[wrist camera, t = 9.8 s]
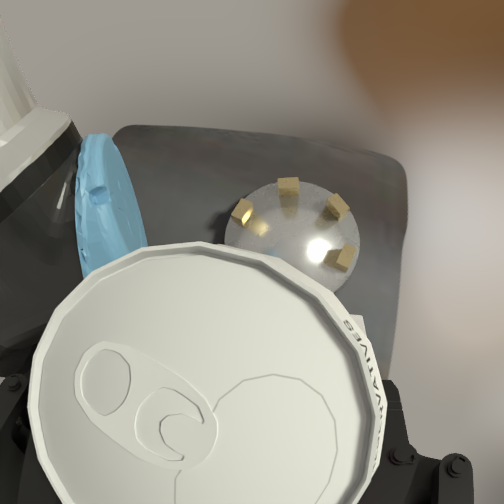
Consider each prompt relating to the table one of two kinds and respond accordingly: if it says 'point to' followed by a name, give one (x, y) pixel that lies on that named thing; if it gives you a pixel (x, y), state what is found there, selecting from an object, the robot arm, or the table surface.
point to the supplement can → (205, 385)
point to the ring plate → (298, 229)
